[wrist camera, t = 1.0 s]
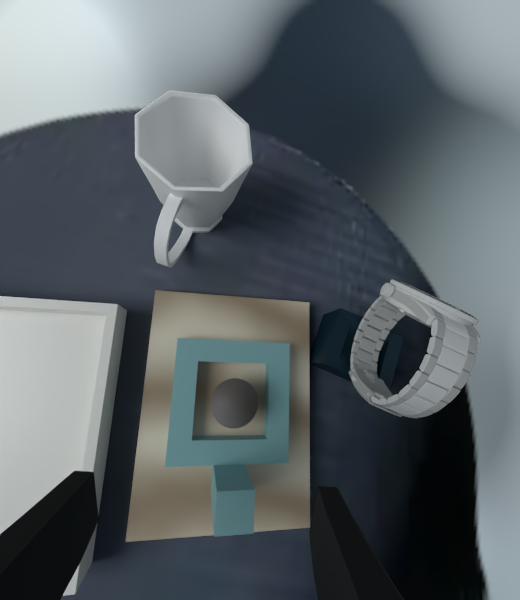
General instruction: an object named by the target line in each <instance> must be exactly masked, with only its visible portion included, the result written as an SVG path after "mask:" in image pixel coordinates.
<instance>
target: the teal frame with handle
mask: <svg viewBox="0 0 520 600" xmlns="http://www.w3.org/2000/svg"><path fill="white" fill-rule="evenodd" d="M198 361H205V362H233V363H262V364H266V371H265V405H264V435H224V436H192V433H193V421H194V408H195V396H196V383H197V371H198ZM289 367H290V344H287V343H267V342H247V341H227V340H207V339H187V338H178V339H177V349H176V359H175V369H174V379H173V390H172V400H171V410H170V420H169V431H168V441H167V451H166V461H165V467H184V466H212V480H211V503H212V516H213V529H214V537H216V536H229V535H242V534H254V505H255V489H254V486H253V484H252V481H251V479H250V477H249V474H248V472H247V469H246V467H245V464H276V463H288V451H289Z"/></svg>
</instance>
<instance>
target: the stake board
mask: <svg viewBox="0 0 520 600" xmlns="http://www.w3.org/2000/svg"><path fill="white" fill-rule="evenodd" d="M178 338H187V339H207V340H227V341H247V342H267V343H287V344H290V367H289V451H288V463H276V464H245V467H246V469H247V472H248V474H249V477H250V479H251V481H252V484H253V486H254V489H255V505H254V532H259V531H272V530H285V529H297V528H310V352H309V302H297V301H284V300H272V299H259V298H247V297H234V296H222V295H209V294H196V293H184V292H171V291H159V290H155V298H154V307H153V315H152V324H151V332H150V340H149V349H148V357H147V366H146V374H145V383H144V391H143V399H142V408H141V416H140V425H139V433H138V441H137V450H136V458H135V467H134V475H133V483H132V492H131V500H130V509H129V517H128V526H127V534H126V542H131V541H144V540H157V539H170V538H182V537H195V536H208V535H214V529H213V516H212V503H211V480H212V466H184V467H165V461H166V451H167V441H168V431H169V420H170V410H171V400H172V390H173V379H174V369H175V359H176V349H177V339H178ZM265 371H266V364H262V363H233V362H205V361H198V371H197V383H196V396H195V408H194V421H193V433H192V436H224V435H264V405H265Z"/></svg>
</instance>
